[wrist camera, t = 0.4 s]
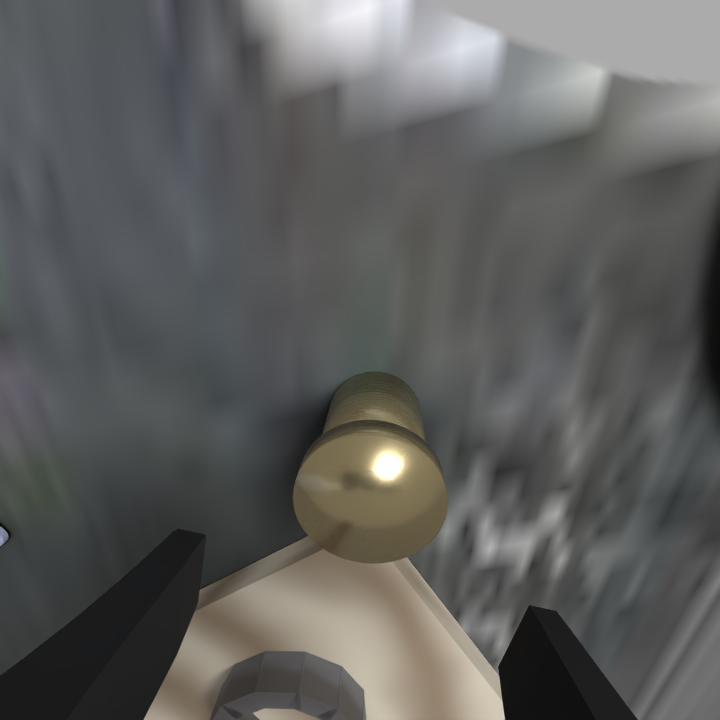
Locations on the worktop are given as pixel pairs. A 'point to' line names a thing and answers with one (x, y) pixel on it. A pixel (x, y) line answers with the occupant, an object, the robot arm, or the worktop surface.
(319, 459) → the knob
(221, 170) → the worktop surface
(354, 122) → the worktop surface
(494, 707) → the plate
